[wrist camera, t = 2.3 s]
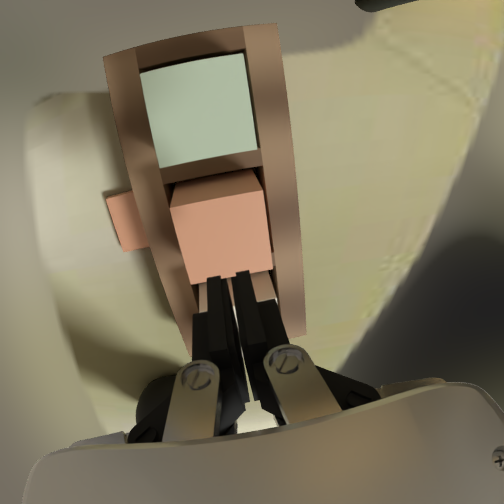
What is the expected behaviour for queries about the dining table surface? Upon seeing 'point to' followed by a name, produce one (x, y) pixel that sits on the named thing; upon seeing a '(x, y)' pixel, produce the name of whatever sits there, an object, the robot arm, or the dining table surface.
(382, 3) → the candle
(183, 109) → the sage button
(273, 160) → the walnut console
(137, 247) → the tile
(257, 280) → the cream button
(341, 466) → the robot arm
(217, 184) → the terracotta button
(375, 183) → the dining table surface
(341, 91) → the dining table surface
